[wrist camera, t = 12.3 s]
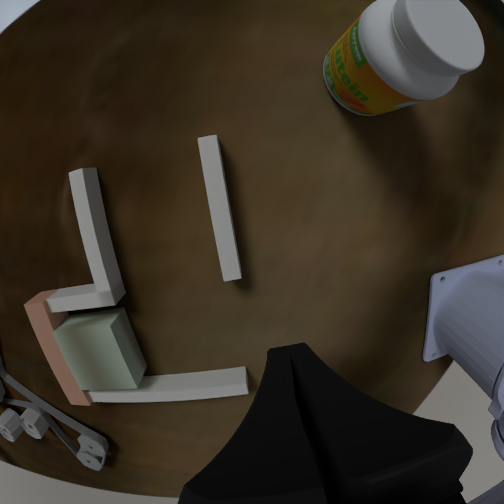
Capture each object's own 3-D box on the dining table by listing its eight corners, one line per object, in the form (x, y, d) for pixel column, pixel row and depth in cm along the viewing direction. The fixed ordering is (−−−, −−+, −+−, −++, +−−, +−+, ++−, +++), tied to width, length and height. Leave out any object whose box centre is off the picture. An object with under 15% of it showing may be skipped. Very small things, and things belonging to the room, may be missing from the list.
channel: (218, 138, 17) (216, 134, 15) (261, 374, 22) (262, 391, 20) (34, 188, 17) (17, 191, 15) (100, 386, 22) (92, 401, 20)
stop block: (59, 288, 19) (42, 302, 17) (100, 386, 22) (90, 405, 19) (41, 291, 19) (23, 304, 17) (82, 386, 22) (71, 404, 19)
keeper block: (125, 306, 20) (110, 326, 17) (147, 364, 21) (137, 388, 18) (70, 314, 20) (52, 332, 17) (94, 368, 21) (81, 389, 18)
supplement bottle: (305, 55, 16) (360, -27, 7) (372, 34, 15) (452, -30, 6) (346, 129, 17) (438, 102, 8) (409, 103, 17) (512, 76, 7)
